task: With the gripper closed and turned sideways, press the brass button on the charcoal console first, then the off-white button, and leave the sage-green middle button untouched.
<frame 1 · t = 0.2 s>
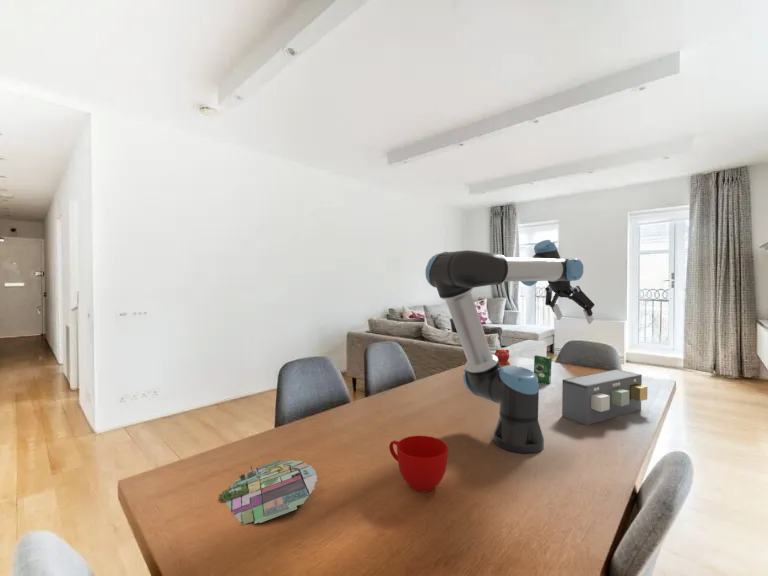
hand: (575, 319, 154), 35 cm above the table, tool tilted 35°, fingers open, 13 cm apart
ceramic cup: (415, 482, 98), on the table
button console: (602, 412, 147), on the table
stacking bear: (501, 385, 185), on the table
city model: (268, 496, 92), on the table
brass button: (635, 391, 148), point 8 cm above the table, slide at 0.0 cm
white button: (597, 401, 136), point 8 cm above the table, slide at 0.0 cm
coffee box: (542, 382, 190), on the table
sage button: (617, 396, 142), point 8 cm above the table, slide at 0.0 cm
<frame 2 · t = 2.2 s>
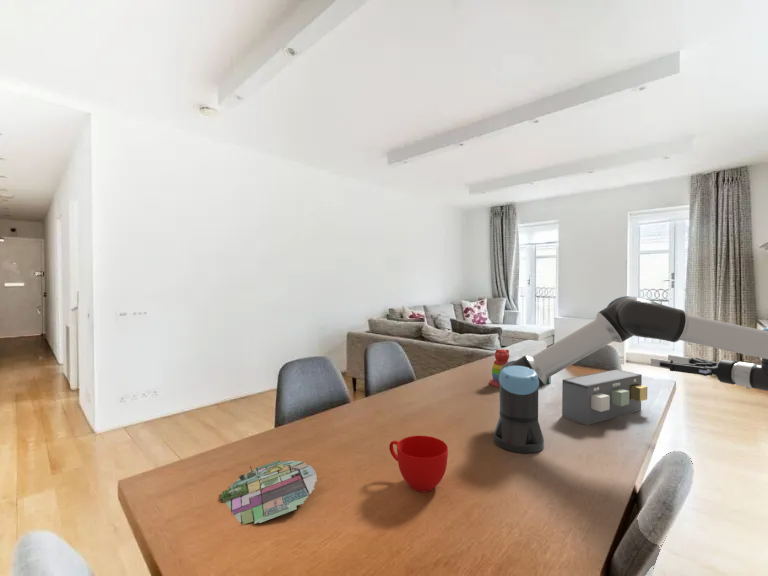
hand: (660, 360, 140), 22 cm above the table, tool horizontal, fingers open, 11 cm apart
nothing on the table moved.
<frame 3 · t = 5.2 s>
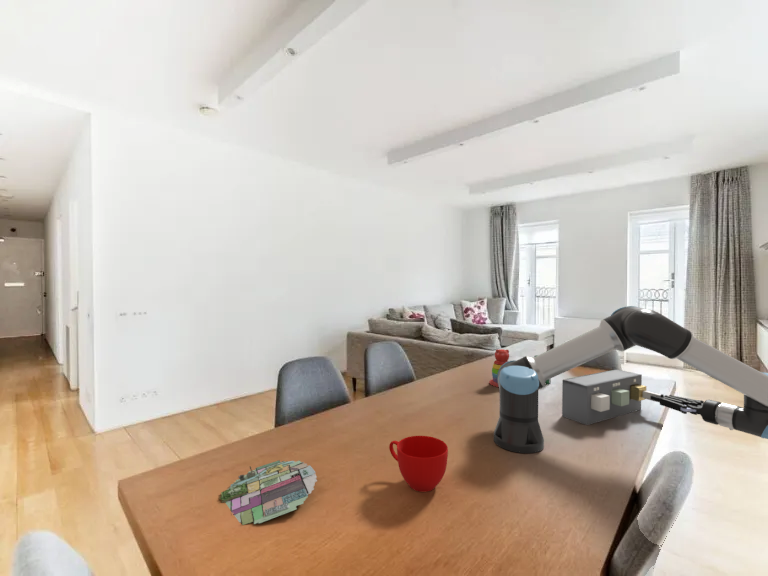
hand: (643, 394, 145), 8 cm above the table, tool horizontal, fingers closed
brass button: (634, 391, 148), point 8 cm above the table, slide at 0.4 cm, touching gripper
everything else where it was.
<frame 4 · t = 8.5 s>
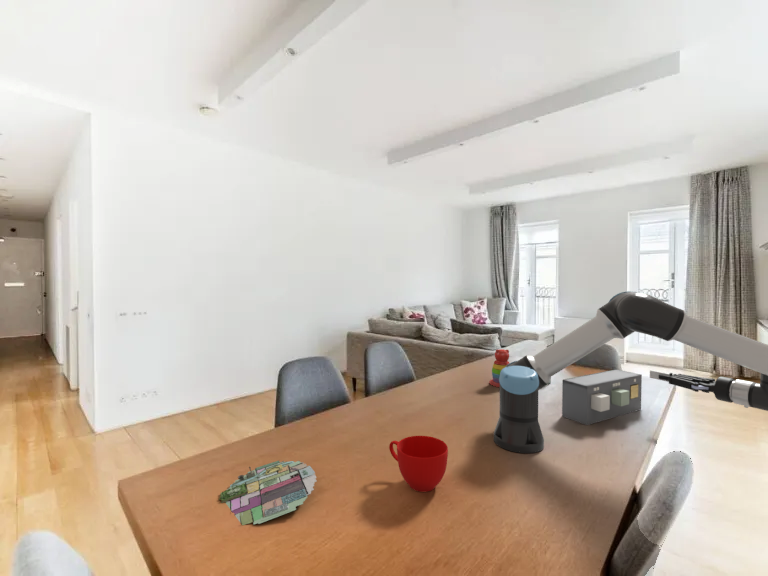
hand: (650, 373, 138), 18 cm above the table, tool horizontal, fingers closed
brass button: (626, 389, 150), point 8 cm above the table, slide at 3.3 cm
everything else where it was.
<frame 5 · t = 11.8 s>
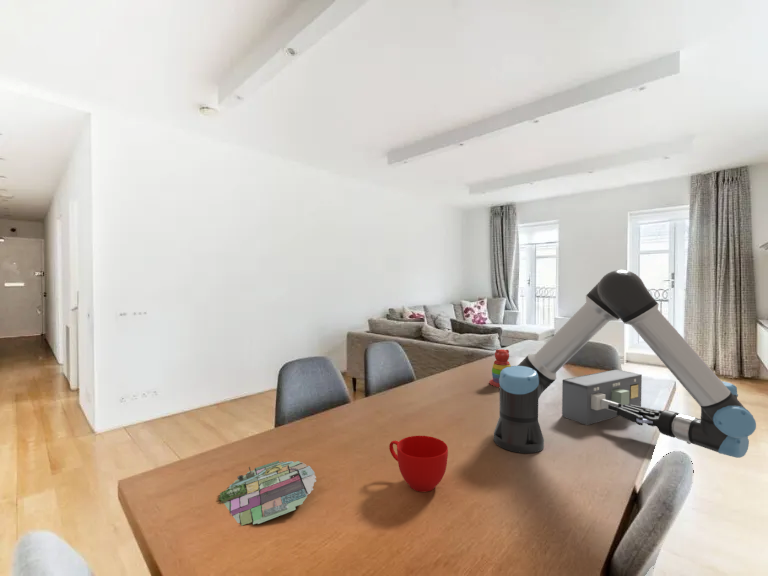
hand: (602, 402, 135), 8 cm above the table, tool horizontal, fingers closed
white button: (593, 400, 138), point 8 cm above the table, slide at 1.6 cm, touching gripper
everything else where it was.
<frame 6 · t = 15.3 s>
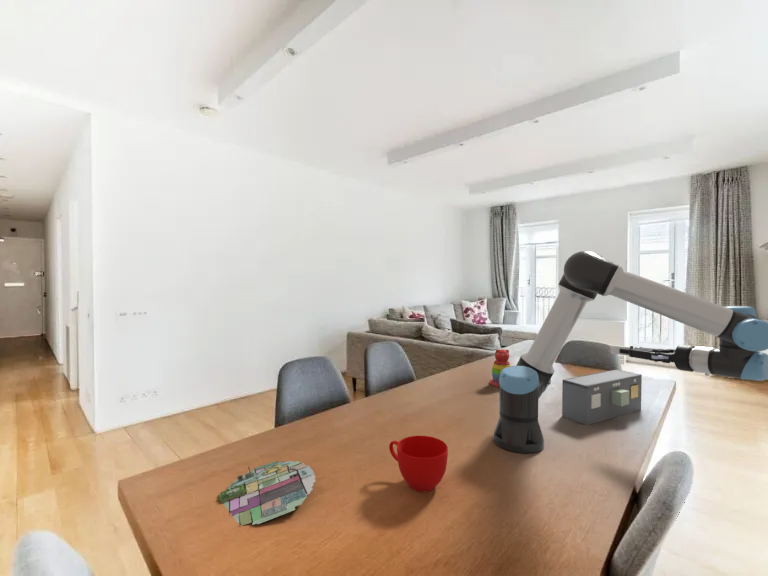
hand: (612, 349, 131), 28 cm above the table, tool horizontal, fingers closed
white button: (588, 398, 139), point 8 cm above the table, slide at 3.3 cm
everything else where it was.
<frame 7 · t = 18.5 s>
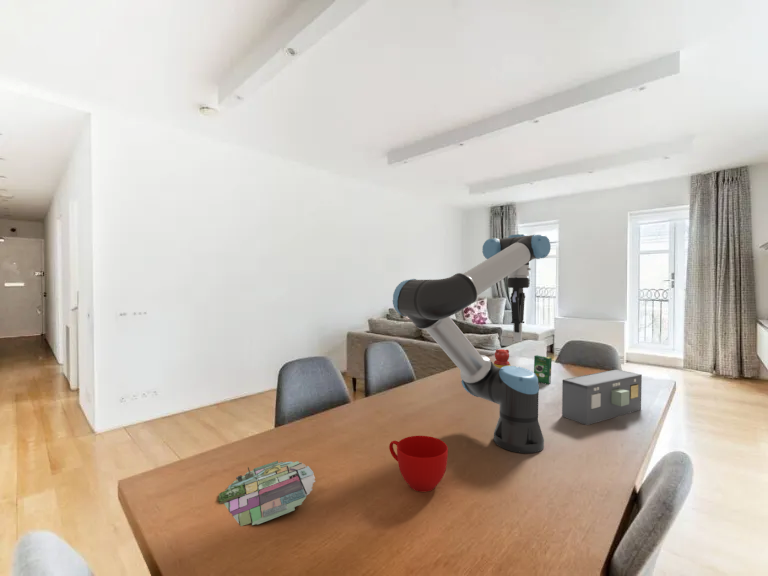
hand: (517, 340, 139), 29 cm above the table, tool pointing down, fingers closed
nothing on the table moved.
at the end: brass button slide at 3.3 cm; white button slide at 3.3 cm; sage button slide at 0.0 cm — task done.
